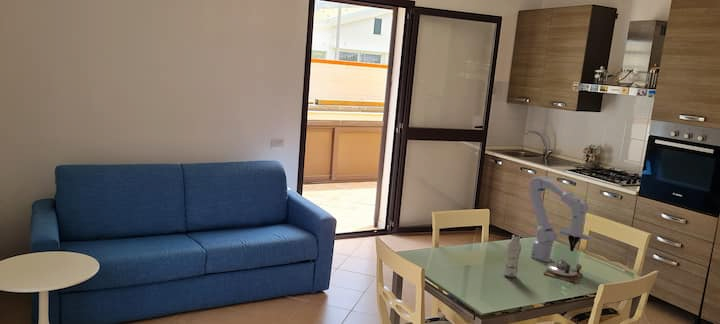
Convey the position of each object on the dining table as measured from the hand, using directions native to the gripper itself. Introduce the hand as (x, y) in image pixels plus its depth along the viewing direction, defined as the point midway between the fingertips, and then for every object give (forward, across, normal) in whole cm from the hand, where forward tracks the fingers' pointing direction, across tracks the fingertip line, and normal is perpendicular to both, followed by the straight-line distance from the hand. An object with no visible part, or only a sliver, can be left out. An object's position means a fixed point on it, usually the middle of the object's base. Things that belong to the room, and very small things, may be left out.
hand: (571, 250), depth 281 cm
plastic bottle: (+10, -22, -34) cm, 42 cm away
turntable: (+10, -2, -10) cm, 14 cm away
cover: (+7, -2, -10) cm, 13 cm away
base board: (+10, -1, -11) cm, 15 cm away
